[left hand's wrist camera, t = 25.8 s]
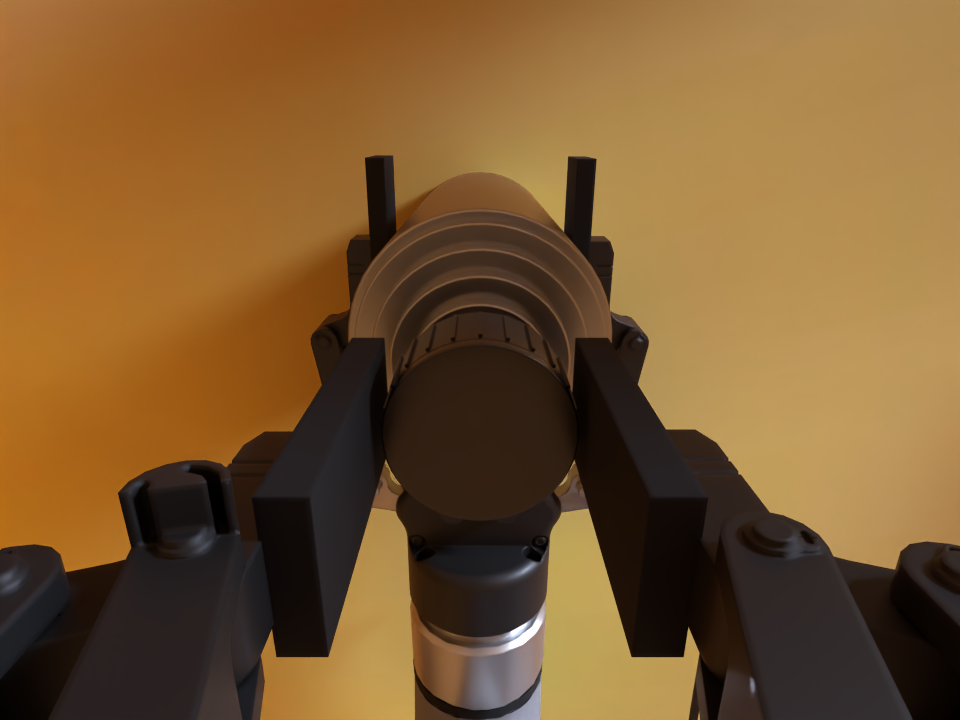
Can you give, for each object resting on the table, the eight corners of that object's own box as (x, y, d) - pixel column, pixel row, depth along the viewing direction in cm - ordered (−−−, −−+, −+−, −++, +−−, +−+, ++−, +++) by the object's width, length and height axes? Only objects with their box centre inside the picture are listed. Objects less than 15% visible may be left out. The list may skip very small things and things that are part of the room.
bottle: (525, 330, 35) (588, 601, 15) (394, 292, 34) (269, 524, 14) (570, 197, 32) (723, 303, 12) (429, 153, 31) (340, 188, 11)
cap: (521, 491, 15) (528, 548, 13) (368, 433, 15) (349, 483, 13) (597, 351, 14) (618, 390, 12) (432, 280, 13) (423, 308, 11)
